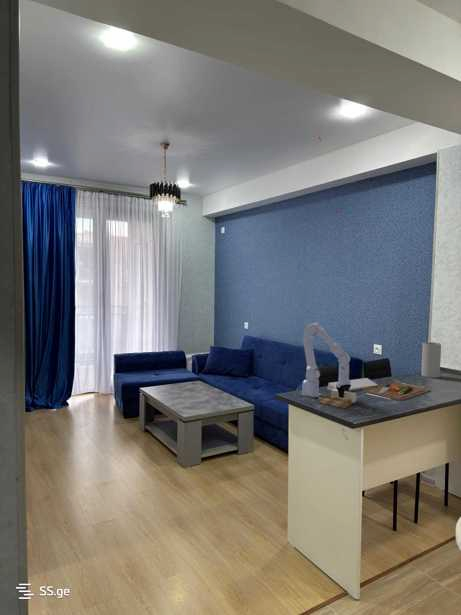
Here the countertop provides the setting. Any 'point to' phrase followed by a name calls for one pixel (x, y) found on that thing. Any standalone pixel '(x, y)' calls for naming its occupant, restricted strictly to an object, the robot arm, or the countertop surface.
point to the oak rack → (335, 401)
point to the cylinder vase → (431, 359)
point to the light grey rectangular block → (345, 395)
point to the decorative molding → (355, 384)
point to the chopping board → (396, 391)
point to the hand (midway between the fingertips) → (343, 397)
